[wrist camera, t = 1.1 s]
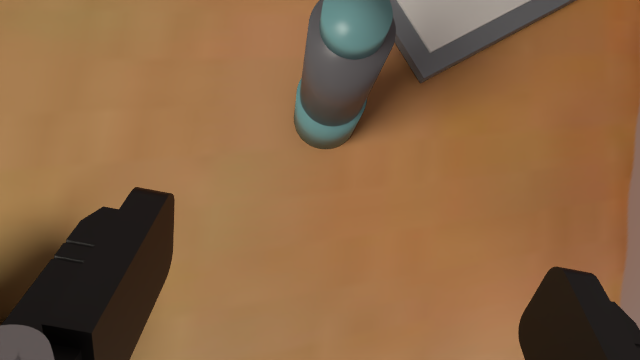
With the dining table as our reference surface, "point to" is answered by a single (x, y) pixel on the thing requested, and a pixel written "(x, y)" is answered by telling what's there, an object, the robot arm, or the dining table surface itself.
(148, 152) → the dining table surface
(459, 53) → the grey flat block
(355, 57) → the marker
